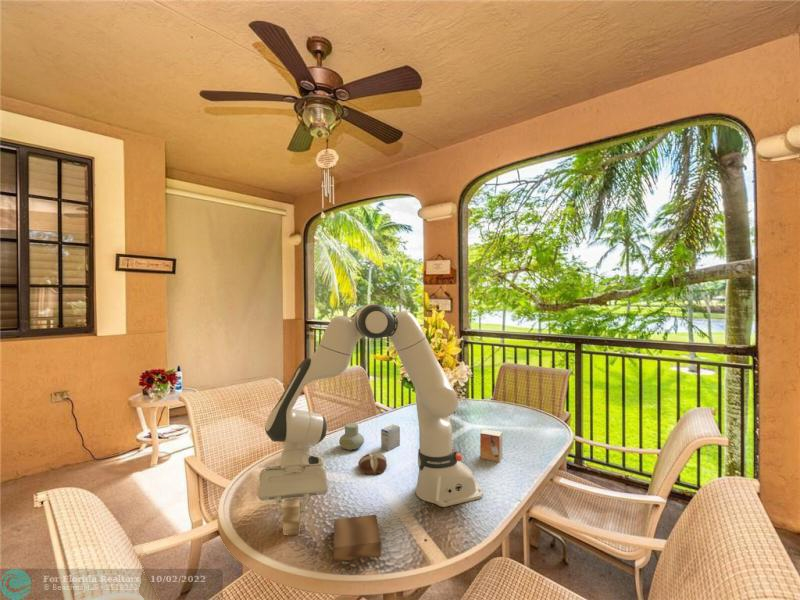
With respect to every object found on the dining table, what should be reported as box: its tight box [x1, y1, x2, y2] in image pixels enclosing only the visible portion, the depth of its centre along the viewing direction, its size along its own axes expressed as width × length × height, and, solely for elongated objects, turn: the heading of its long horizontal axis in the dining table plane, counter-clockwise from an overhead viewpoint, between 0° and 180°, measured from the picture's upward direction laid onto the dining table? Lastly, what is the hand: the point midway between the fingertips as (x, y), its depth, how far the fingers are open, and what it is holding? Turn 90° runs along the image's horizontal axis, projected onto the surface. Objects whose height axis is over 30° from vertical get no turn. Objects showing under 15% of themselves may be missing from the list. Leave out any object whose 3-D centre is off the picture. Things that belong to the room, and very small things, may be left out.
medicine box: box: [380, 424, 401, 451], centre depth 163 cm, size 8×4×9 cm, turn 141°
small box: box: [479, 428, 504, 463], centre depth 151 cm, size 8×6×10 cm
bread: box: [357, 452, 388, 475], centre depth 144 cm, size 11×11×5 cm
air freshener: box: [338, 422, 365, 451], centre depth 163 cm, size 11×8×10 cm
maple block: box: [282, 497, 302, 535], centre depth 106 cm, size 4×4×8 cm
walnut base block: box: [333, 514, 382, 563], centre depth 100 cm, size 12×12×4 cm
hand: (292, 513), depth 106 cm, fingers closed on maple block, 4 cm apart
